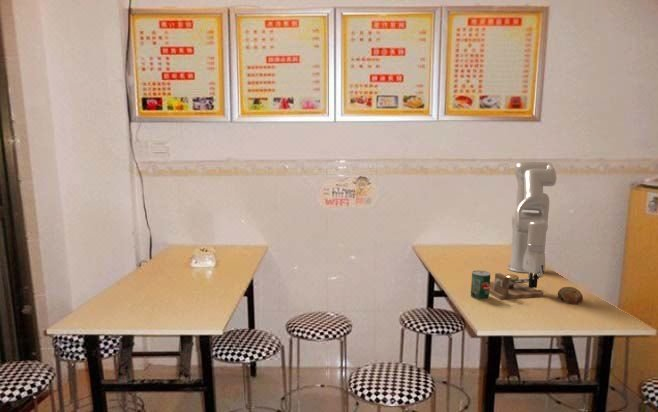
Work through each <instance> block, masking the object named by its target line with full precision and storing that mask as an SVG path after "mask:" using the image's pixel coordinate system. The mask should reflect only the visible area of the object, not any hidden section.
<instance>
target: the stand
mask: <svg viewBox="0 0 658 412" xmlns="http://www.w3.org/2000/svg"><path fill="white" fill-rule="evenodd" d="M505 275H506V274H503V273H498V272H497V273H495V274H494V276H495V277H494V281H490V289H489V295H492V296H493V297H495V298H497V299H499V300H511V299H524V298H538V297H544V292H543V291H541V290H538V289H536V288H531V287H529V284H527V283H514V288H511V289H510V288H509V277H507V276H505Z"/></svg>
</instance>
